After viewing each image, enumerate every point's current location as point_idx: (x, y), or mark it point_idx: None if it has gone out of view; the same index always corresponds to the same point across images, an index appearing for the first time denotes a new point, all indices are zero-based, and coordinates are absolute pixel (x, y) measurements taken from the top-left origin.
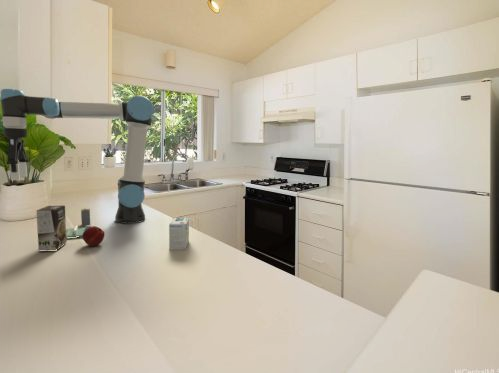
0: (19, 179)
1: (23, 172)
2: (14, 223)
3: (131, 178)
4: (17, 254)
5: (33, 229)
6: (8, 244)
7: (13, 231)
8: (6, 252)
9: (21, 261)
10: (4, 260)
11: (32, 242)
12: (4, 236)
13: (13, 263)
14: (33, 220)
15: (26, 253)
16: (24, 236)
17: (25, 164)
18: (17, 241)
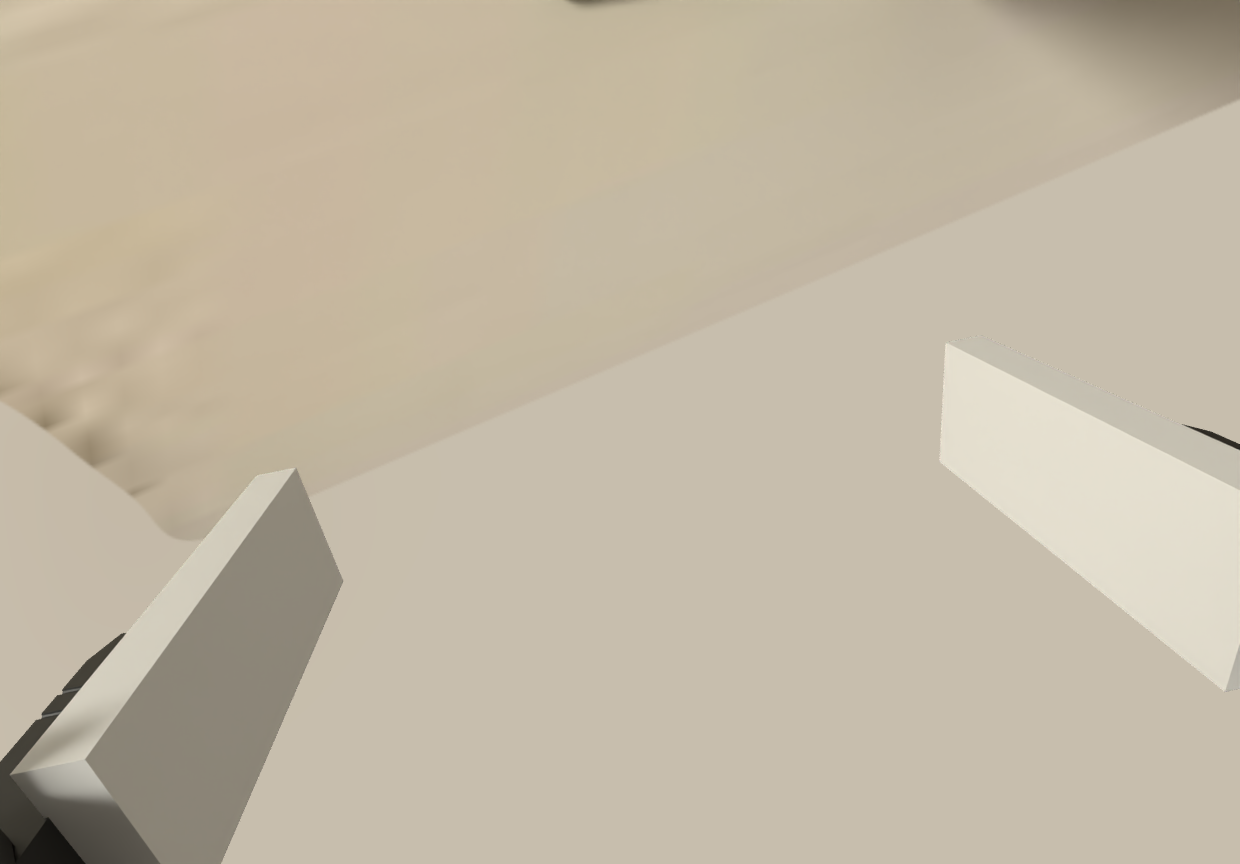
0: (974, 342)
1: (284, 575)
2: (208, 473)
3: None
4: (1038, 117)
5: (415, 251)
6: (796, 266)
7: (462, 375)
8: (967, 205)
9: (1188, 36)
10: (1117, 151)
11: (799, 116)
12: (591, 375)
13: (1199, 73)
14: (84, 372)
15: (1044, 63)
16: (620, 239)
17: (143, 697)
18: (741, 237)
